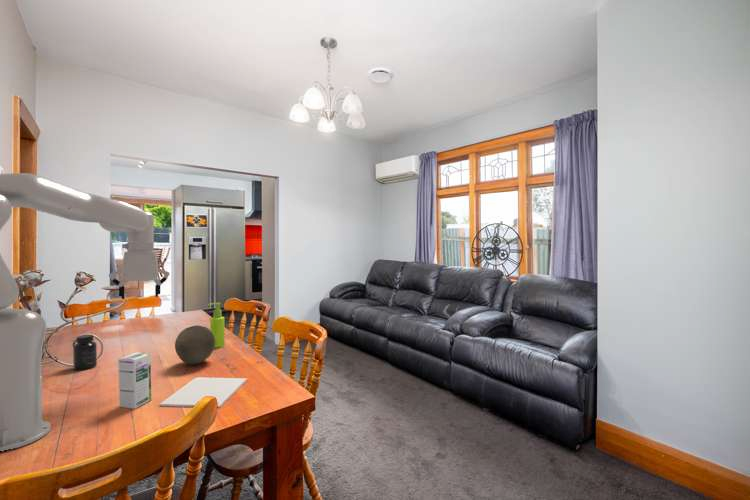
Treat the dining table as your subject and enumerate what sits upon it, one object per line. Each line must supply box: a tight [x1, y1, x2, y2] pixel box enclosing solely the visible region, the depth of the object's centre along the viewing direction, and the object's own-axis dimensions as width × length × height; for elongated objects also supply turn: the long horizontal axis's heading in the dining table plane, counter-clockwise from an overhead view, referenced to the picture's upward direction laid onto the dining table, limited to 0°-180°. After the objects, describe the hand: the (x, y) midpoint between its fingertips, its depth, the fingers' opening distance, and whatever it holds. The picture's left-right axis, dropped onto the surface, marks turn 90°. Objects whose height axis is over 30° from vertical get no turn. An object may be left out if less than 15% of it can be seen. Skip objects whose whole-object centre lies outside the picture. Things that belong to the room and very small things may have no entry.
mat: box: [159, 376, 248, 409], centre depth 112 cm, size 20×18×1 cm
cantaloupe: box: [174, 325, 215, 365], centre depth 136 cm, size 14×14×15 cm
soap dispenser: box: [207, 302, 226, 349], centre depth 159 cm, size 6×7×20 cm
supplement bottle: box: [72, 334, 98, 371], centre depth 131 cm, size 7×7×12 cm
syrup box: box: [117, 352, 152, 410], centre depth 103 cm, size 6×6×14 cm
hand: (140, 297), depth 120 cm, fingers open, 9 cm apart
